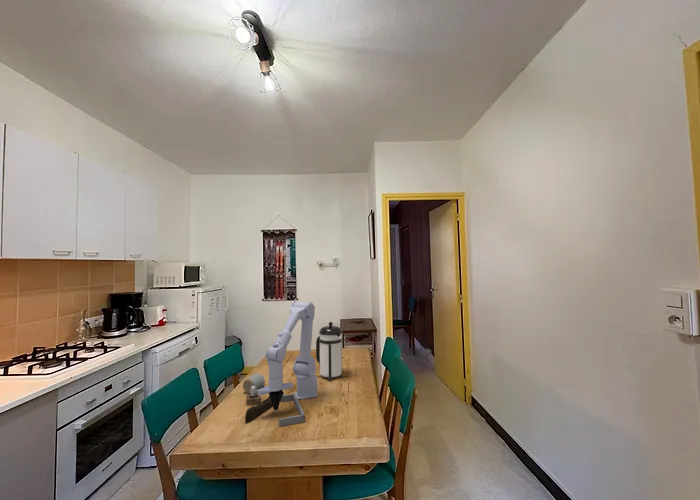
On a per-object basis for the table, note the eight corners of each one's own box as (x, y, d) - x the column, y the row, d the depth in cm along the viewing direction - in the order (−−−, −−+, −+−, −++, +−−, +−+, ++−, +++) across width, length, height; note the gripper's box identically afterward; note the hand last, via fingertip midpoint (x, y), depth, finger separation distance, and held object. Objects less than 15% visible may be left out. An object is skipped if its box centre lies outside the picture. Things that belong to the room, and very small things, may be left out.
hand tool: (269, 403, 143) (269, 392, 143) (276, 404, 141) (276, 394, 141) (239, 422, 125) (239, 410, 125) (248, 424, 123) (248, 412, 124)
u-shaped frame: (294, 399, 146) (294, 393, 146) (305, 421, 125) (305, 415, 125) (272, 402, 143) (272, 396, 143) (279, 426, 121) (279, 419, 121)
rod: (256, 400, 145) (256, 384, 146) (256, 402, 143) (256, 386, 143) (250, 401, 144) (250, 385, 145) (250, 403, 142) (250, 387, 142)
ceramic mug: (241, 393, 154) (241, 377, 154) (252, 387, 161) (253, 371, 162) (259, 397, 150) (259, 380, 150) (270, 390, 157) (270, 374, 157)
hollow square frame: (259, 398, 147) (260, 392, 147) (260, 403, 142) (261, 397, 142) (246, 400, 145) (246, 394, 145) (246, 405, 140) (246, 399, 140)
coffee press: (346, 372, 183) (345, 319, 185) (342, 382, 167) (342, 324, 169) (316, 371, 185) (316, 319, 187) (310, 381, 169) (310, 324, 171)
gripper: (288, 370, 140) (288, 401, 140) (255, 376, 132) (255, 409, 132) (294, 374, 134) (294, 407, 134) (260, 381, 126) (260, 416, 126)
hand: (275, 409), depth 132 cm, fingers closed
